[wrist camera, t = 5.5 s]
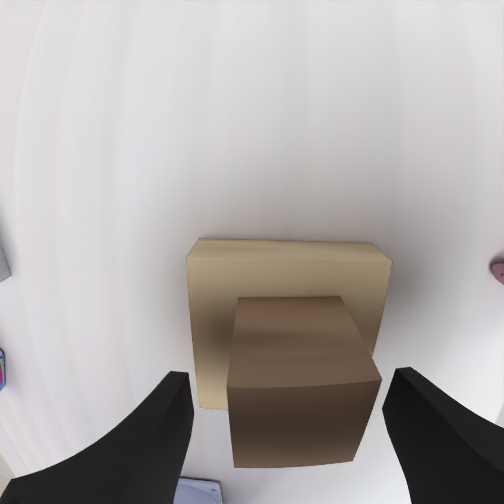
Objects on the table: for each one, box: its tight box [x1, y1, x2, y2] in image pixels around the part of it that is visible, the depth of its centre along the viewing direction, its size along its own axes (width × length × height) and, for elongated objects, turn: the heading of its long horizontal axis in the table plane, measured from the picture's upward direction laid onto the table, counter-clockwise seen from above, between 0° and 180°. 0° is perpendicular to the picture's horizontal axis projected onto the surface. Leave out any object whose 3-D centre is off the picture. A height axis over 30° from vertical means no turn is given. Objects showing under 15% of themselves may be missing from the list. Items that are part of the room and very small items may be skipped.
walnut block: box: [226, 296, 382, 468], centre depth 10 cm, size 4×4×5 cm
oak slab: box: [186, 239, 392, 410], centre depth 14 cm, size 8×8×3 cm
